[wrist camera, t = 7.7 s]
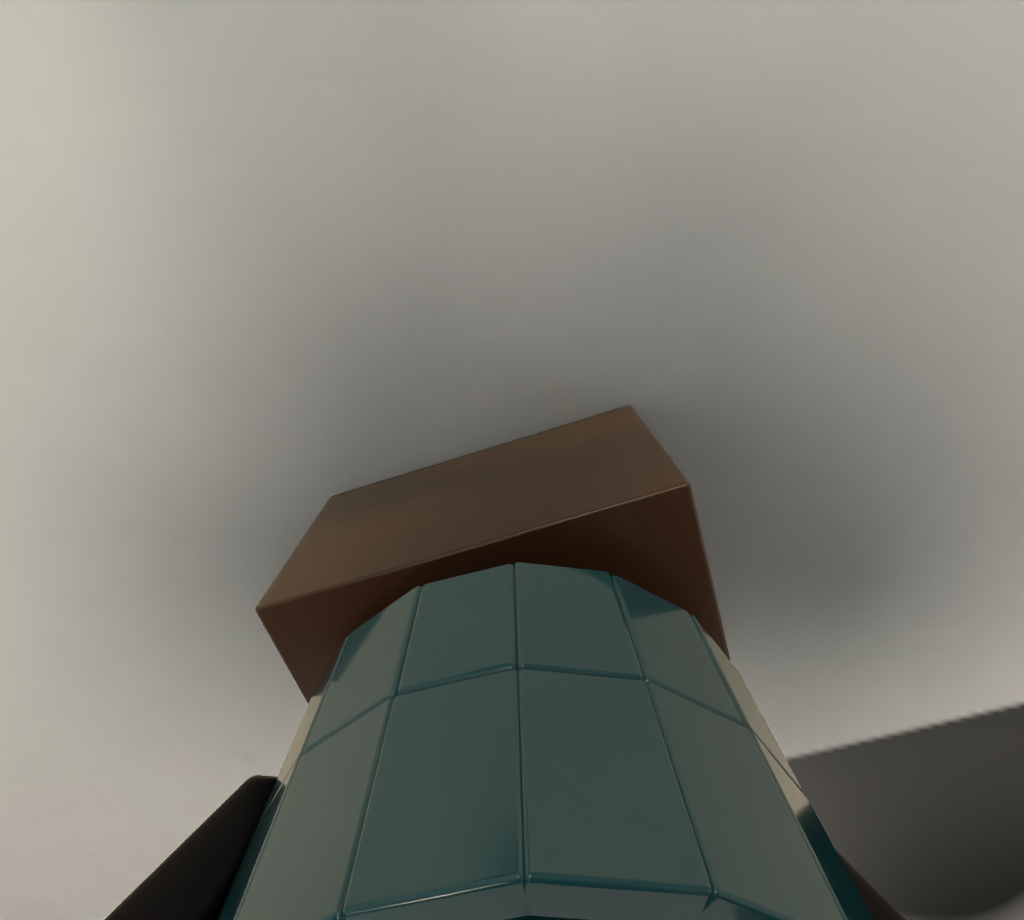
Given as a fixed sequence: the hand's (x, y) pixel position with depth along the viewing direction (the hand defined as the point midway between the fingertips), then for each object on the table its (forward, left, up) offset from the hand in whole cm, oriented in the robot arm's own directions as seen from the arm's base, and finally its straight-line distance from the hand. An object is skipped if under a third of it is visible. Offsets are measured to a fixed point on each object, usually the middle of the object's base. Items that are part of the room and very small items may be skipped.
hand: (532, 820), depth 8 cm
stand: (0, 0, -6) cm, 6 cm away
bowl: (0, 0, -2) cm, 2 cm away
